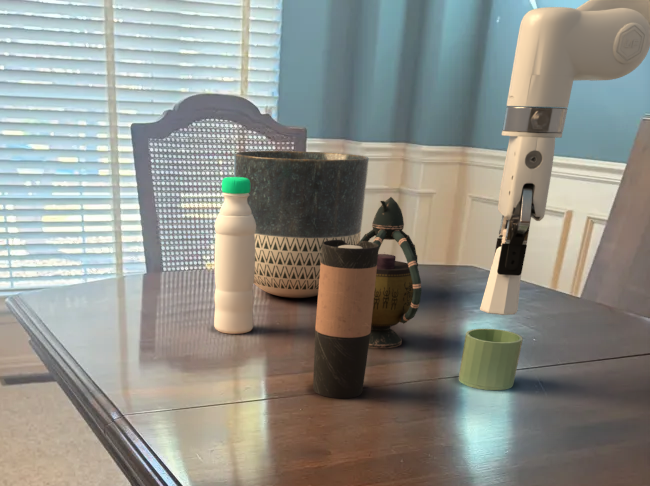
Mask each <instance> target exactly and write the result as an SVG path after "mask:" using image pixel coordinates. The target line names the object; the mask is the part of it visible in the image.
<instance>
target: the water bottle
mask: <svg viewBox="0 0 650 486" xmlns="http://www.w3.org/2000/svg"><path fill="white" fill-rule="evenodd" d="M221 192H222V196H223V198H224V199H223V203H222V205H221V206H220V209H219V213H218V215H217V216H216V218H215V221H214V230H215V237H214V238H215V241H214V282H215V289H214V296H213V297H214V300H213V301H214V315H213V318H214V319H213V326H214V329H215V330H216V331H218V332H220V333H223V334H229V335H241V334H247V333H249V332H251V331H252V330H253V328H254V310H253V309H254V305H255V291H254V285H255V284H254V273H255V235H254V233H255V231H256V222H255V220H254V217H253V215H252V214H251V209H250V207H249V205H248V202H247V198H248V196H249V193H250V180H249V179H247V178H243V177H234V176H228V177H223V178H222V181H221Z"/></svg>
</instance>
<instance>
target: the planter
mask: <svg viewBox="0 0 650 486" xmlns="http://www.w3.org/2000/svg"><path fill="white" fill-rule="evenodd" d="M233 156H234V157H233V177H243V178H247V179H249V180H250V193H249V196H248V198H247V202H248V205H249V207H250V209H251V214H252V215H253V217H254V220H255V222H256V231H255V233H254V235H255V273H254V284H253V285H255V286H256V287H257V288H259V289H260V290H262V291H263V292H266V293H267V294H269V295H273V296H276V297H279V298H280V297H281V298H287V299H305V298H306V299H307V298H313V297H318V290H319V277H320V265H321V252H322V244H323V242H325V241H329V240H343V241H345V243H347V244H351V245H356V244H357V243H359V242H360V240H361V233H362V225H363V218H364V209H365V208H364V207H365V197H366V190H367V181H368V172H369V157H368V156H364V155H359V154H350V153H337V152H321V151H298V150H297V151H293V150H249V151H248V150H247V151H238V152H235V153H234V155H233Z"/></svg>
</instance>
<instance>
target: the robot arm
mask: <svg viewBox="0 0 650 486" xmlns="http://www.w3.org/2000/svg"><path fill="white" fill-rule="evenodd" d="M649 51H650V0H587V1H586V2H584V3H582V4H581V5H579V6H578V7H576V8H573V7H565V6H546V7H545V6H544V7H538V8H534V9H533V8H532V9H531V10H528V11H527V12H526V13H524V15H523V17H522V19H521V21H520V25H519V29H518V35H517V40H516V47H515V51H514V52H515V53H514V58H513V65H512V70H511V77H510V83H509V90H508V94H507V99H506V100H507V101H506V107H505V110H504V111H505V112H504V118H503V123H502V131H501V136H502V137H503V136H504V137H505V136H506V137H509V139H508V145H507V149H506V154H505V161H504V165H503V171H502V176H501V181H500V182H501V183H500V188H499V195H498V202H497V204H498V205H497V210H498V212H499V214H501V215H502V216H501V220H500V226H499V229H498V231H499V232H498V237H497V239H496V242H495V243H496V244H495V250H494V255H493V257H494V256H495V253H496V250H497V248H499V247H501V246H502V247H501V253H500V258H499V264H498V269H497V273H498V274H500V275H521V276H522V273H523V268H524V262H525V257H526V252H527V246H528V239H529V234H530V228H531V221H532V219H533V220H535V221H536V222H540V221H542V220H543V219H544V218H545V214H546V208H547V202H548V196H549V189H550V183H551V177H552V171H553V164H554V159H555V158H554V156H555V149H556V139H557V138H559V139H560V138H563V133H564V129H565V124H566V119H567V113H568V108H569V104H570V100H571V99H570V98H571V94H572V89H573V84H574V82H577V81H592V82H593V81H612V80H616V79H617V80H618V79H621V78H623V77H625V76H627V75H629V74H630V73H632V72H634V70H636V69H637V68H638V67H639V66H640V65H641V64H642V63H643V61H644V60H645V58H646V57H647V55H648V53H649ZM512 228H513V229H512ZM504 229H507V231H506V237H505V243H502V237H503V230H504ZM501 243H502V245H501Z"/></svg>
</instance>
